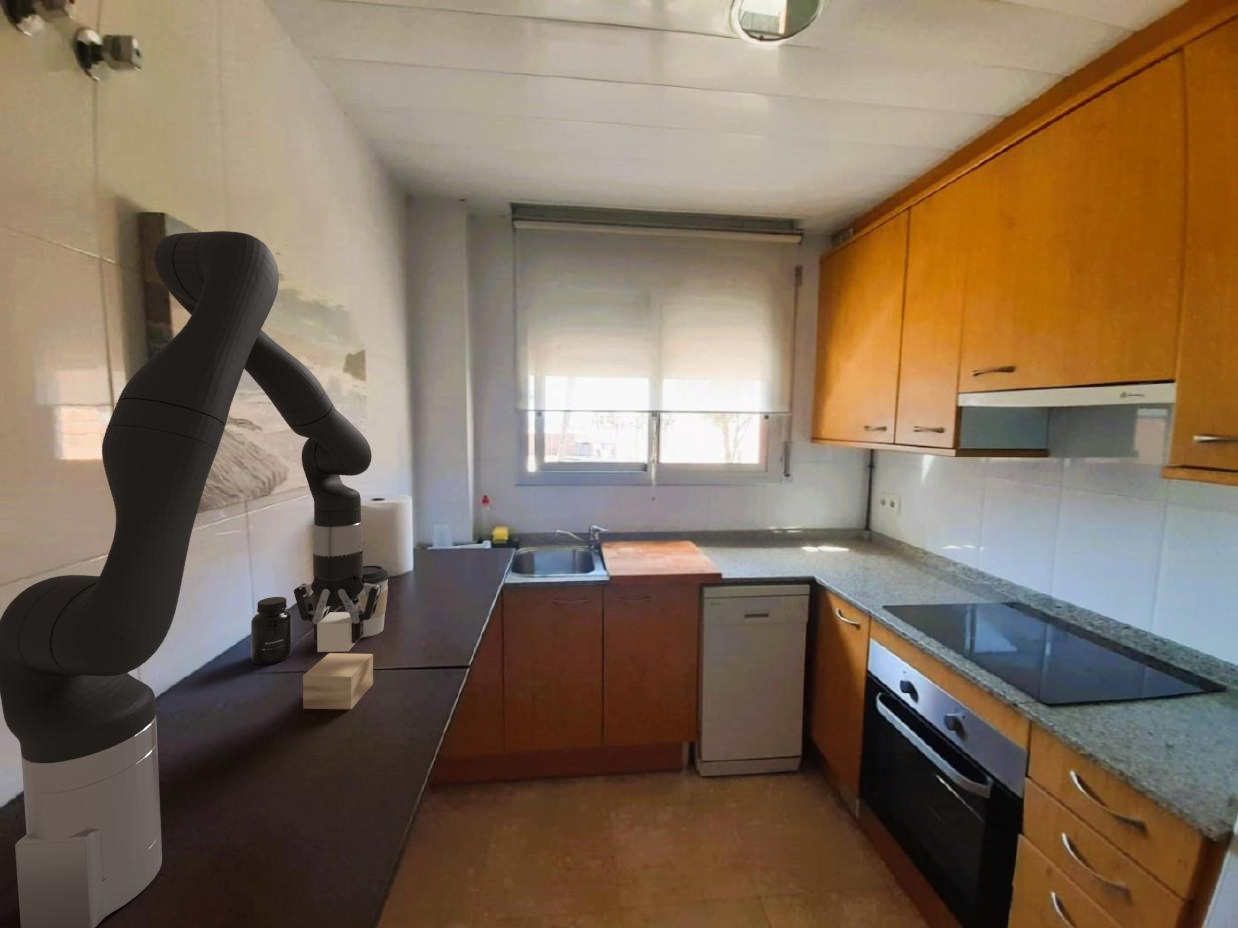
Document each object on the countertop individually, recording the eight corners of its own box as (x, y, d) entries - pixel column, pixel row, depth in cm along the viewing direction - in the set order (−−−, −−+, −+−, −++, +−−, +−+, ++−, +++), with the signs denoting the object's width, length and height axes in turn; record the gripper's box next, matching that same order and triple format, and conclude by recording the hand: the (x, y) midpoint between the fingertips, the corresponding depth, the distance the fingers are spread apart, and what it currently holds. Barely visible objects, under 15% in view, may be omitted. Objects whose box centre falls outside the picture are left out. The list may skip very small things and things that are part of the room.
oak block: (351, 709, 82) (351, 676, 82) (303, 709, 82) (302, 675, 81) (372, 684, 90) (372, 653, 90) (329, 683, 90) (329, 653, 89)
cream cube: (348, 651, 83) (348, 623, 83) (317, 651, 83) (317, 623, 82) (359, 638, 88) (359, 611, 88) (330, 638, 87) (330, 612, 87)
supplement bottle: (271, 667, 94) (270, 608, 93) (242, 663, 95) (241, 604, 94) (300, 651, 101) (300, 596, 100) (273, 647, 102) (272, 592, 101)
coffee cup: (395, 623, 117) (395, 562, 115) (378, 639, 108) (378, 574, 106) (357, 622, 116) (357, 561, 115) (337, 638, 107) (336, 573, 106)
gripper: (281, 554, 79) (283, 652, 81) (374, 554, 81) (374, 650, 83) (304, 542, 86) (306, 633, 88) (388, 542, 88) (389, 631, 90)
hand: (339, 641), depth 85 cm, fingers closed on cream cube, 5 cm apart
